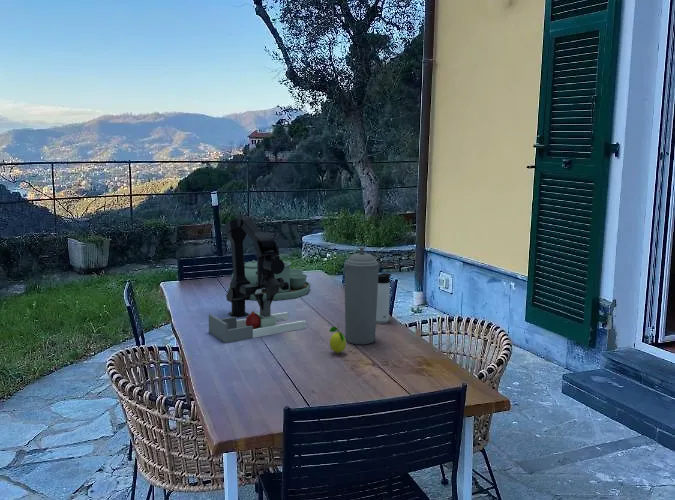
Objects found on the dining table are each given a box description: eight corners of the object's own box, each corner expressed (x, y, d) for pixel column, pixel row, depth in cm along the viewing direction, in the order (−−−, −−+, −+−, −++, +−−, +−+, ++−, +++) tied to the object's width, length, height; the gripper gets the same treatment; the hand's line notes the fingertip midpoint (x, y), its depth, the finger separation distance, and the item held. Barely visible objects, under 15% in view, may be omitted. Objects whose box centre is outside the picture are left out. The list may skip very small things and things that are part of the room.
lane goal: (208, 332, 228) (208, 314, 227) (286, 319, 247) (286, 302, 246) (225, 343, 216) (224, 324, 215) (305, 328, 235) (306, 310, 234)
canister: (381, 345, 216) (383, 249, 210) (346, 346, 214) (347, 250, 208) (373, 334, 228) (375, 243, 222) (340, 335, 226) (341, 244, 220)
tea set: (325, 289, 301) (325, 256, 299) (276, 306, 268) (275, 269, 265) (263, 279, 322) (263, 248, 319) (210, 293, 289) (209, 260, 286)
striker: (250, 326, 235) (249, 298, 233) (277, 321, 242) (277, 294, 240) (262, 332, 227) (261, 304, 225) (289, 327, 234) (289, 300, 232)
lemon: (329, 350, 210) (329, 322, 209) (345, 350, 210) (346, 322, 208) (328, 356, 204) (328, 328, 202) (345, 356, 203) (346, 328, 202)
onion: (246, 328, 233) (246, 309, 232) (261, 328, 234) (261, 308, 232) (245, 333, 227) (245, 313, 226) (260, 333, 228) (260, 312, 227)
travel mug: (388, 324, 242) (390, 275, 238) (372, 323, 243) (373, 274, 240) (390, 320, 248) (391, 272, 244) (374, 318, 249) (375, 271, 246)
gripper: (252, 276, 218) (252, 317, 220) (296, 270, 228) (296, 310, 231) (238, 270, 227) (239, 310, 229) (282, 265, 237) (282, 304, 240)
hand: (265, 309), depth 232 cm, fingers closed on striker, 2 cm apart
